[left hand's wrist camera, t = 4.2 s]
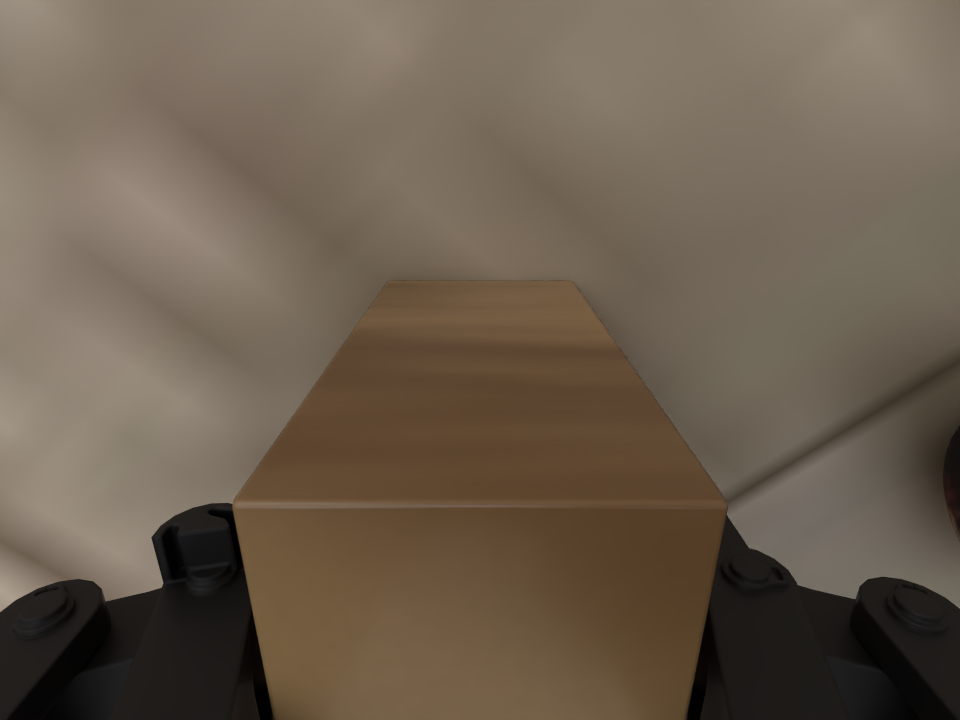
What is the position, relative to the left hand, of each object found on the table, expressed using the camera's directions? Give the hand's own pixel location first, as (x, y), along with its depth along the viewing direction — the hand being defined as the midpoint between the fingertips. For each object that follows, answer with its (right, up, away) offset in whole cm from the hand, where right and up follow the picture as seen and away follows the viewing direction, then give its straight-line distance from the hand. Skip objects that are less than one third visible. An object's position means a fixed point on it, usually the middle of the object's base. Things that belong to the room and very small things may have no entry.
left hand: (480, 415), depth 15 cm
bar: (0, -8, +4) cm, 9 cm away
